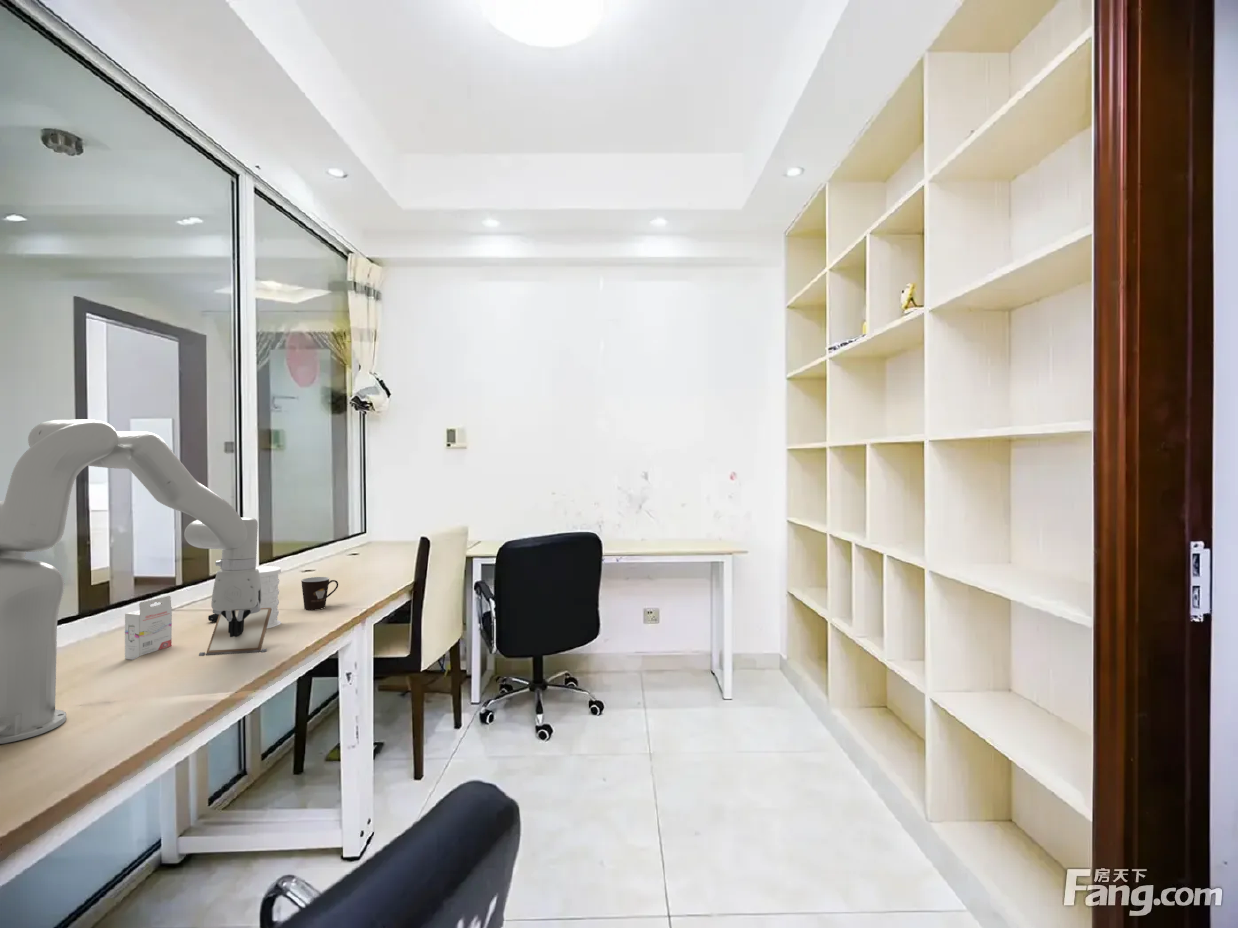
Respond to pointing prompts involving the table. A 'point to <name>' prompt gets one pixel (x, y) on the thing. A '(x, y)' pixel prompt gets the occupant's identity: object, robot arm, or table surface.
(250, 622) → the flap
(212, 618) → the electric trimmer
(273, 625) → the decorative container
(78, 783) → the table surface
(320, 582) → the coffee mug
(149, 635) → the ink cartridge box
